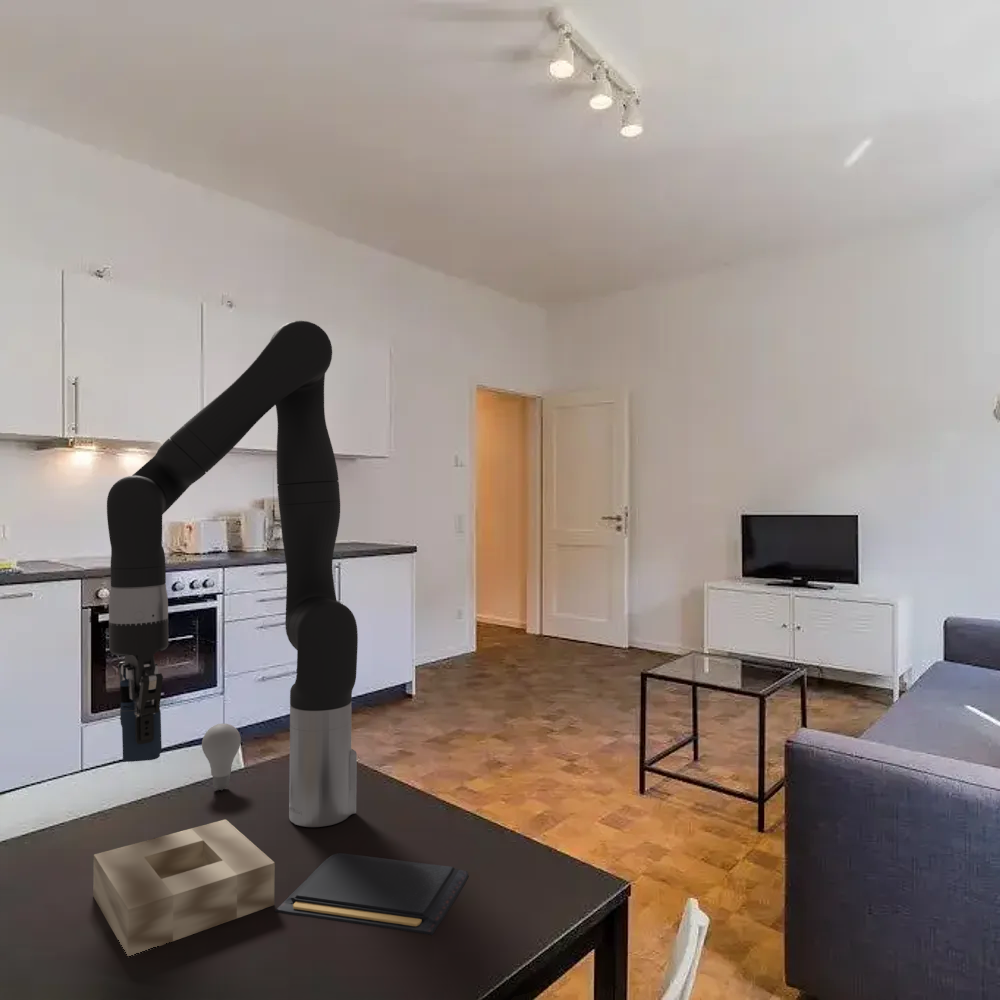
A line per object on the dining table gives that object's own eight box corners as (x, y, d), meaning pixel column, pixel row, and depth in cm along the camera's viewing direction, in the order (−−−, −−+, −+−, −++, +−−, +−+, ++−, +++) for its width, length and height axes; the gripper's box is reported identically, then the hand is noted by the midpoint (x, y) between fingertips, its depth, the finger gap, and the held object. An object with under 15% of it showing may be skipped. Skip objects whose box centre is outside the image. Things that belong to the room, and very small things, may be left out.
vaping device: (125, 757, 105) (122, 672, 105) (164, 754, 106) (161, 670, 106) (118, 763, 102) (116, 676, 103) (158, 760, 103) (156, 674, 103)
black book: (472, 863, 96) (431, 926, 81) (472, 877, 96) (431, 944, 81) (333, 843, 101) (271, 900, 86) (333, 857, 101) (270, 916, 86)
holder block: (225, 856, 100) (225, 819, 100) (274, 904, 88) (274, 862, 88) (93, 896, 90) (93, 854, 90) (127, 957, 77) (128, 909, 77)
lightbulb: (227, 798, 120) (227, 730, 120) (193, 795, 121) (194, 728, 121) (247, 784, 126) (248, 720, 126) (215, 782, 127) (215, 717, 127)
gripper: (182, 620, 101) (183, 745, 101) (153, 609, 112) (154, 722, 112) (122, 626, 96) (124, 758, 96) (97, 614, 107) (99, 733, 107)
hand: (140, 738), depth 104 cm, fingers closed on vaping device, 3 cm apart
